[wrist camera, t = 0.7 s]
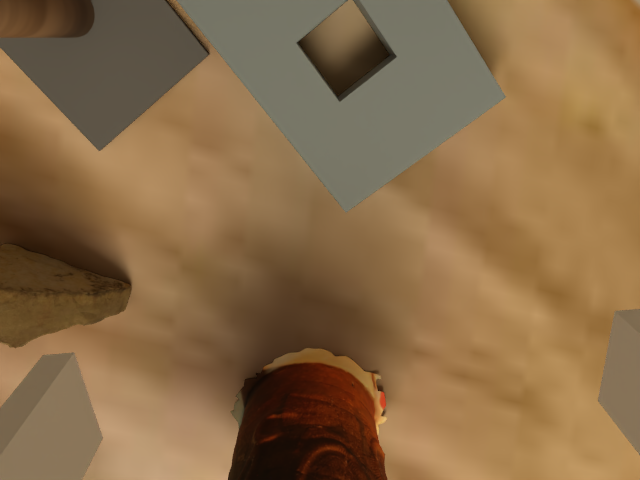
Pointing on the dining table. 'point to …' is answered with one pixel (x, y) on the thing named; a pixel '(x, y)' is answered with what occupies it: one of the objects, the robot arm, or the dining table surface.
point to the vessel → (309, 421)
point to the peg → (45, 18)
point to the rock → (51, 296)
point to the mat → (111, 64)
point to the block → (355, 84)
